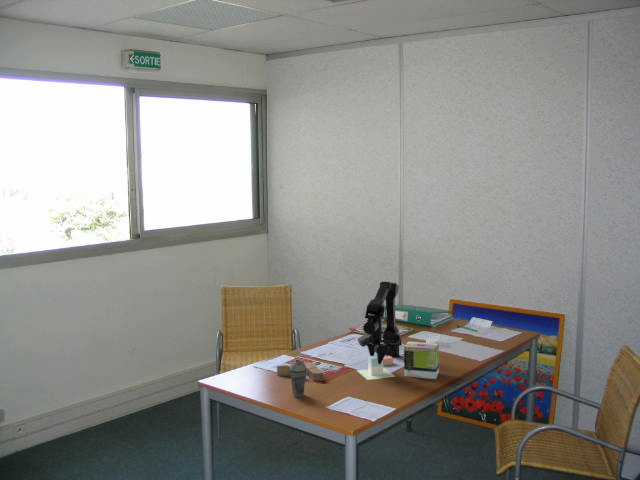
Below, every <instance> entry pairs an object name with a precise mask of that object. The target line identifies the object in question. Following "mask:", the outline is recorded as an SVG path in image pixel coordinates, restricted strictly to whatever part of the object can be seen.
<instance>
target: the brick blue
mask: <svg viewBox="0 0 640 480" xmlns="http://www.w3.org/2000/svg"><path fill="white" fill-rule="evenodd" d="M367 365H369V366H370V367H377V366H383V360H382V362H381V364H378V359H377V355H374V356H370V355H369V356H367ZM383 367H384V366H383Z"/></svg>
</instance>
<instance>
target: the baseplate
mask: <svg viewBox="0 0 640 480" xmlns="http://www.w3.org/2000/svg"><path fill="white" fill-rule="evenodd" d="M356 372H357V373H359V374H360V375H361V376H363V378H365V380H367V381H371V380H377V379H380V380H381V379H387V378H394V377H396V376H395V375H394V374H393V373H391V372H390V371H389V370H388V369H386V368H385V366H383V374H379V375H370V374H369V373H368V368H367V369H359V370H358V369H357V370H356Z"/></svg>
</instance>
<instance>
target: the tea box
mask: <svg viewBox="0 0 640 480" xmlns="http://www.w3.org/2000/svg"><path fill="white" fill-rule="evenodd" d="M439 346H440V344H439V343H437V342H436V343H435V342H419V341H407V342H406V343H405V345H404V347H403V369H404V370H403V372H404V374H403V375H404V377H409V378H410V377H411V378H412V377H413V378H422V379H431V380H437V377H438V376H439V371H440V352H439V351H440V350H439V349H440V347H439Z"/></svg>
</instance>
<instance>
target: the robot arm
mask: <svg viewBox="0 0 640 480" xmlns="http://www.w3.org/2000/svg"><path fill="white" fill-rule="evenodd" d="M399 290H400V288H399V284H397V282H390V281H380V283H379V288H378V289H377V292H376V294H375V297H374V298H373V299H371V300H370V301H369V303H368V304H367V306H366V310H365V316H364V319H367V320H366V322H364V325H363V327H362V329H363V331H364V333H365V334H363V335H362V336H360V337H358V338H357V341H358V345H359V346H361V347H363V348H364V347H367V349H368V350H367V351H368V353H369V356H375V354H376V356H377V359H378V364H381V362H382V360H383V358H384V356H391V357H392V358H393V359H394V358H401V355H400V347H401V346H402V345H403V342H402V341H403V339H402V337H401V334H400V331H399V328H398V326H397V323H396V298H397V296H398V294H399ZM384 303H385V304H384ZM384 315H385V316H386V317H385V318H386V328H385V329H384V331H383V330H382V329H383V326H382V325H383V323H382V322H383V318H384Z"/></svg>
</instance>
